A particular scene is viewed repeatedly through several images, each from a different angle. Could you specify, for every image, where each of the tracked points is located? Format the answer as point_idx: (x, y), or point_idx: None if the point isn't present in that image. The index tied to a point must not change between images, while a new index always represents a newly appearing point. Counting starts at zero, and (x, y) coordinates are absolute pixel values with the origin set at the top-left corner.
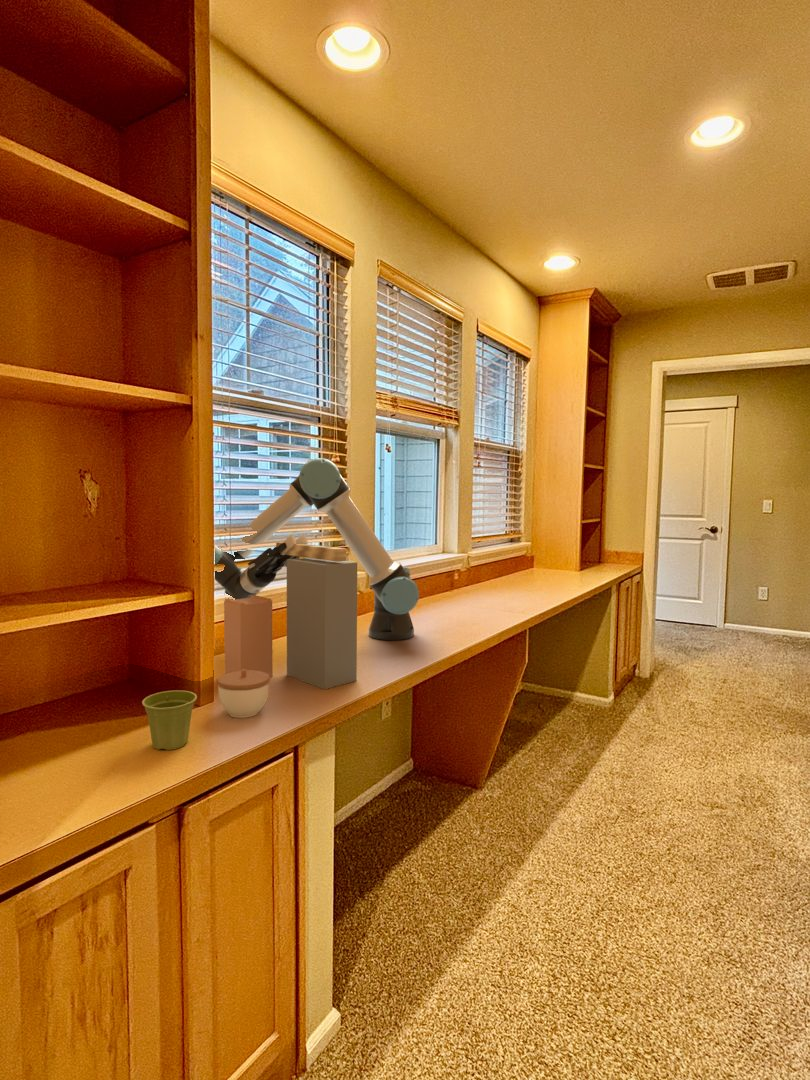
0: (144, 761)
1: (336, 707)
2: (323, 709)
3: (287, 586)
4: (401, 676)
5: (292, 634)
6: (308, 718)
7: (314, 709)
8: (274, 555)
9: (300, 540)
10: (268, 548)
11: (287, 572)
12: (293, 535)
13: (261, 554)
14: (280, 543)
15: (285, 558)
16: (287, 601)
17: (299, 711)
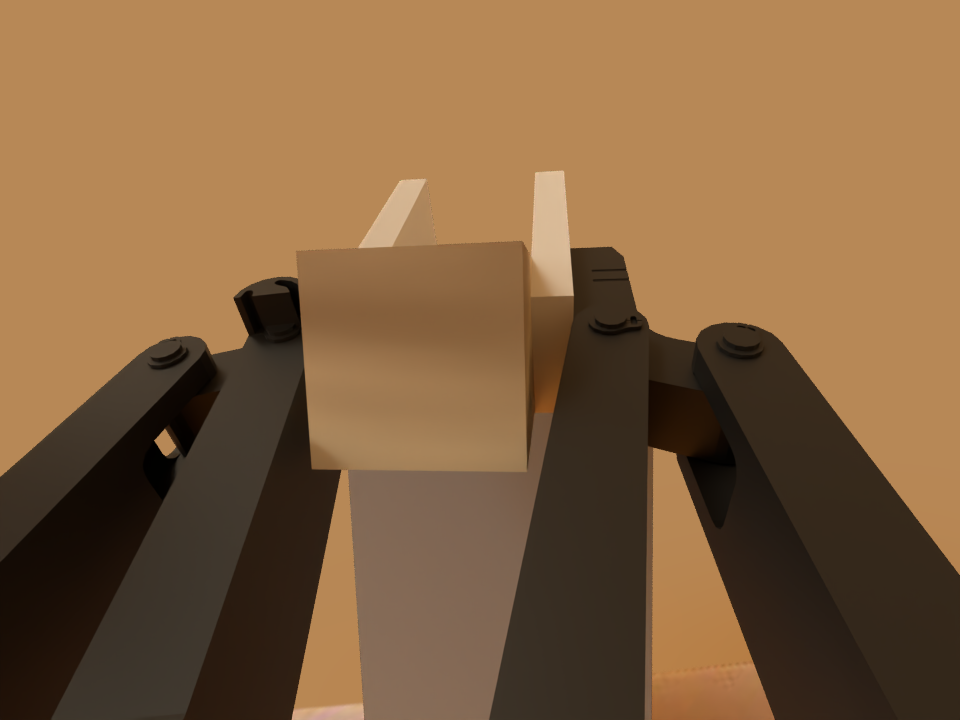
0: None
1: (657, 674)
2: (694, 684)
3: (649, 588)
4: (335, 709)
5: None
6: (754, 671)
7: (717, 697)
8: (649, 446)
9: (419, 238)
10: (763, 330)
11: (650, 482)
12: (537, 180)
13: (903, 519)
14: (529, 262)
15: (302, 588)
16: (649, 696)
17: (763, 711)
